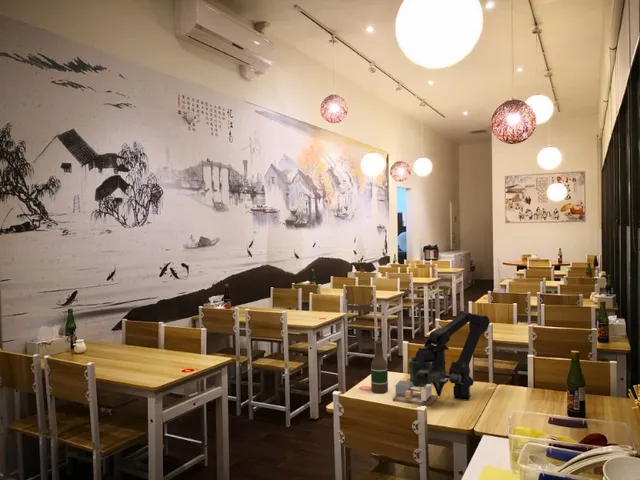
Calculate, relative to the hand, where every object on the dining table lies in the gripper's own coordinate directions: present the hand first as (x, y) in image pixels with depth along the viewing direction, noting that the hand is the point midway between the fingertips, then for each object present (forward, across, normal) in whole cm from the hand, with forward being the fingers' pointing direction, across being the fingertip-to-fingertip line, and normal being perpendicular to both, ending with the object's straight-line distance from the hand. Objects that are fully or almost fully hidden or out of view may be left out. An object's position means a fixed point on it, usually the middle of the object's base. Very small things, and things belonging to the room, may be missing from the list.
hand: (439, 396), depth 220 cm
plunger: (+1, -9, 0) cm, 9 cm away
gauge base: (+3, -11, 0) cm, 11 cm away
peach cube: (+2, -13, -4) cm, 13 cm away
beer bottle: (+3, -29, +4) cm, 30 cm away
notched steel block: (+2, -16, +1) cm, 16 cm away
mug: (+3, -17, +24) cm, 29 cm away
